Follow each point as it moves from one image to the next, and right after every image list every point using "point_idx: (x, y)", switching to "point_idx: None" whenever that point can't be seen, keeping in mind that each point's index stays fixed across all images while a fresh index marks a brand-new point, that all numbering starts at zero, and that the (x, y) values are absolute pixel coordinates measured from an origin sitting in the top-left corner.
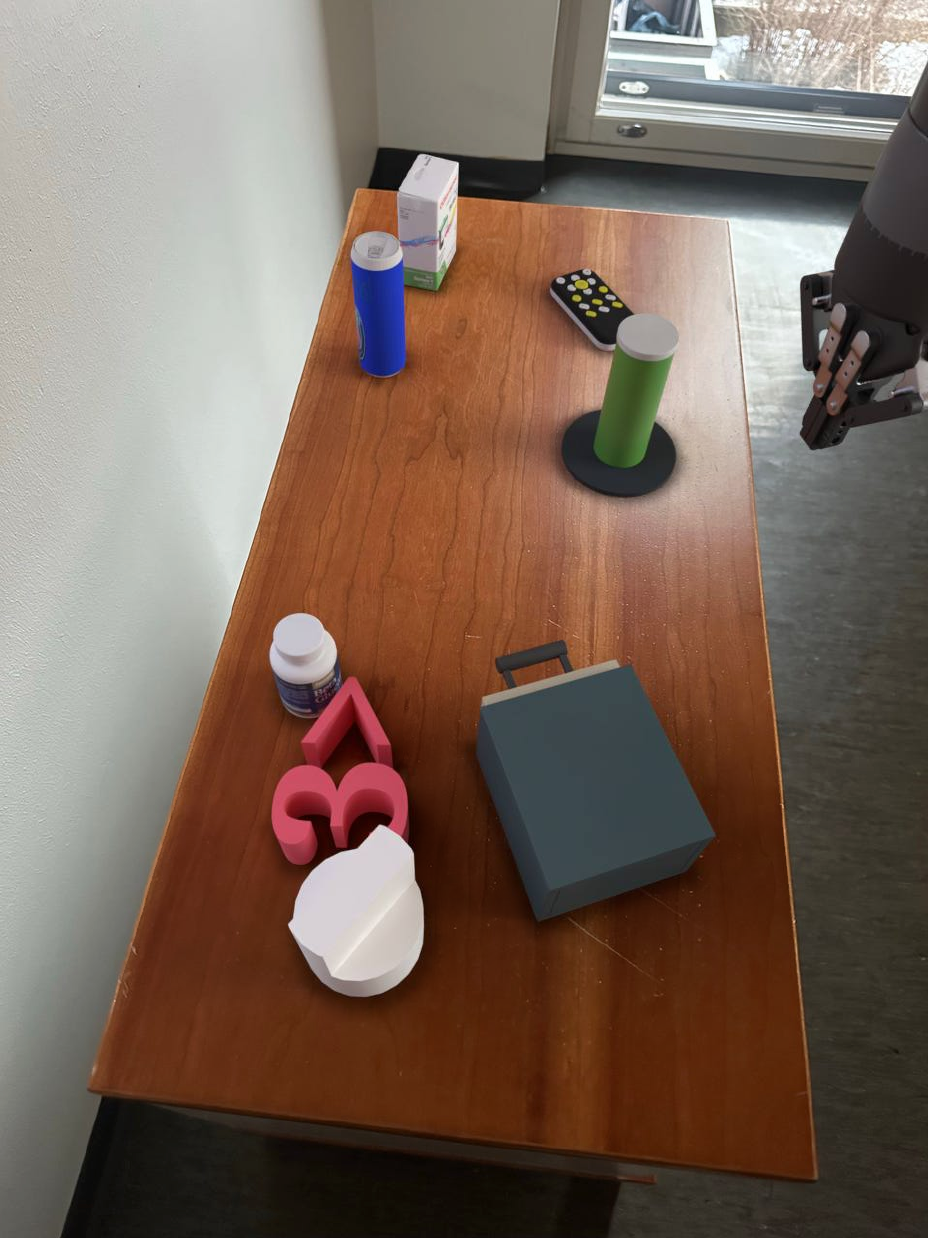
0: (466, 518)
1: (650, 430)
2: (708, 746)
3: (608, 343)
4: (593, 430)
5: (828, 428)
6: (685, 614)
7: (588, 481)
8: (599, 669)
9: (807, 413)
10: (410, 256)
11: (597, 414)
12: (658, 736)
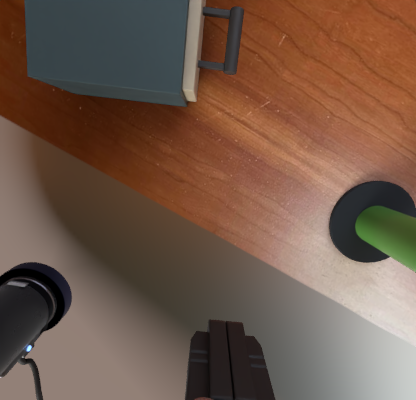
0: (378, 85)
1: (376, 244)
2: (142, 153)
3: None
4: None
5: (199, 368)
6: (232, 192)
7: (360, 187)
8: (190, 72)
9: (258, 357)
10: None
11: None
12: (114, 79)
